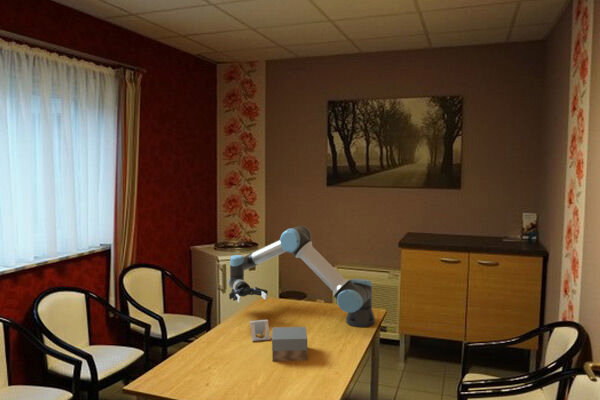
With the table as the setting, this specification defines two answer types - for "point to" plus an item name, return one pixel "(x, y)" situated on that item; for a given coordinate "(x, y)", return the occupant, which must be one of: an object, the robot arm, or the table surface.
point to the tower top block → (289, 338)
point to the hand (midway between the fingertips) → (253, 298)
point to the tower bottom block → (290, 355)
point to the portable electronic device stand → (259, 330)
